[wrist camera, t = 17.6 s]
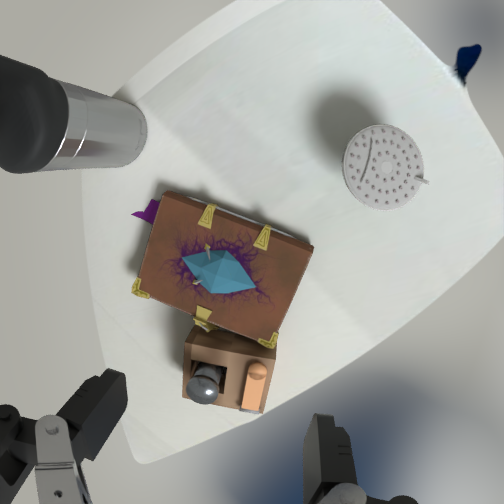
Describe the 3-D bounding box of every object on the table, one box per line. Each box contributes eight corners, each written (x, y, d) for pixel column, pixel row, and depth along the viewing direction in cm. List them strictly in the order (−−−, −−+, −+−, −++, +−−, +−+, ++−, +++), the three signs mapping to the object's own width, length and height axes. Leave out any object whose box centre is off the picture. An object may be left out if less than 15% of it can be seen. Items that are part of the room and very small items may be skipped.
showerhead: (419, 224, 31) (334, 197, 31) (397, 215, 38) (326, 192, 38) (439, 143, 28) (357, 110, 29) (415, 146, 35) (344, 121, 36)
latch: (240, 407, 42) (239, 412, 41) (248, 360, 40) (247, 364, 39) (259, 411, 42) (258, 415, 41) (269, 363, 40) (269, 367, 39)
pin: (200, 365, 47) (185, 400, 38) (202, 343, 45) (186, 376, 37) (227, 371, 46) (216, 407, 38) (230, 348, 45) (219, 384, 37)
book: (145, 177, 41) (129, 176, 37) (315, 242, 41) (320, 249, 36) (116, 282, 45) (100, 292, 40) (269, 346, 45) (268, 363, 40)
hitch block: (190, 378, 47) (182, 397, 43) (194, 325, 45) (184, 342, 40) (265, 392, 47) (262, 413, 42) (276, 340, 44) (275, 359, 39)
